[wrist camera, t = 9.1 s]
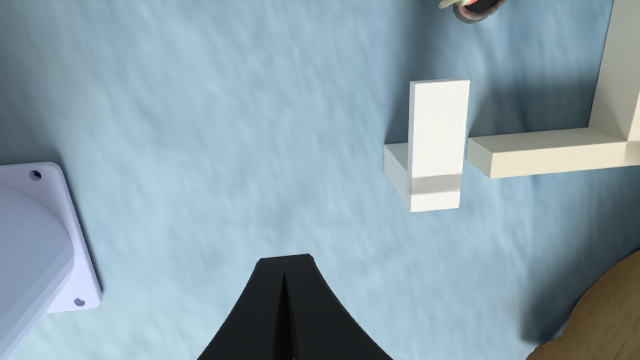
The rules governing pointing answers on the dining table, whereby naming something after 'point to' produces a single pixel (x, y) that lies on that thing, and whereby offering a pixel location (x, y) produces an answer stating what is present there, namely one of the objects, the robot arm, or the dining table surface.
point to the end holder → (604, 125)
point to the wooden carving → (602, 319)
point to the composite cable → (470, 16)
